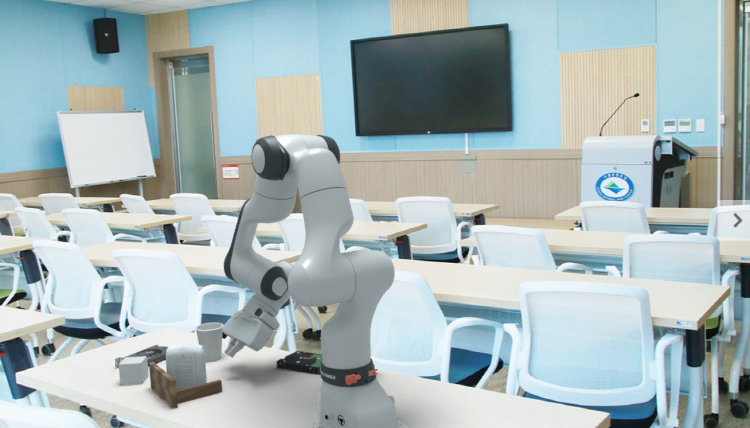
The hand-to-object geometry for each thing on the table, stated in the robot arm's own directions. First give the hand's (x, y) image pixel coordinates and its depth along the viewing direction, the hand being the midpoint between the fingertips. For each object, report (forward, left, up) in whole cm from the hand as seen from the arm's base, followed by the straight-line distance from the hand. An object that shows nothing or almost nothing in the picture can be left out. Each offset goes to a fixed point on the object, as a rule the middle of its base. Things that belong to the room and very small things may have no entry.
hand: (228, 355), depth 183 cm
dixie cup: (+21, -3, -7) cm, 22 cm away
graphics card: (+31, +12, -8) cm, 34 cm away
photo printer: (+1, +12, -7) cm, 14 cm away
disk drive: (-5, -22, -8) cm, 24 cm away
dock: (-1, +12, -7) cm, 14 cm away
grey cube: (+17, +21, -7) cm, 28 cm away
